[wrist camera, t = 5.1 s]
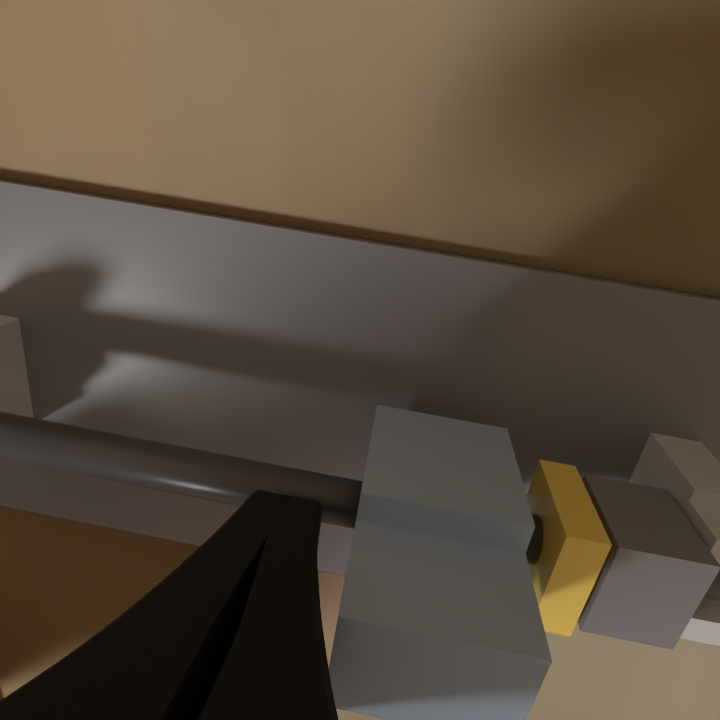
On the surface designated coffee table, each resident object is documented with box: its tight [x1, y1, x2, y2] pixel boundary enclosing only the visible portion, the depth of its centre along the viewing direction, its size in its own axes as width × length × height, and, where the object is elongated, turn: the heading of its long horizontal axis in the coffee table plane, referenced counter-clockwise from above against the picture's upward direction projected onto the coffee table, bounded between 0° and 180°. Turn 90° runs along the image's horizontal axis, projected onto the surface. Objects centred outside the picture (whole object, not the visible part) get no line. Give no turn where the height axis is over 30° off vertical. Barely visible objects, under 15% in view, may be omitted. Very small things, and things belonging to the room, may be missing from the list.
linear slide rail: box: [0, 179, 720, 649], centre depth 12 cm, size 21×10×4 cm, turn 82°
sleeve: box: [329, 405, 552, 720], centre depth 10 cm, size 3×3×5 cm
